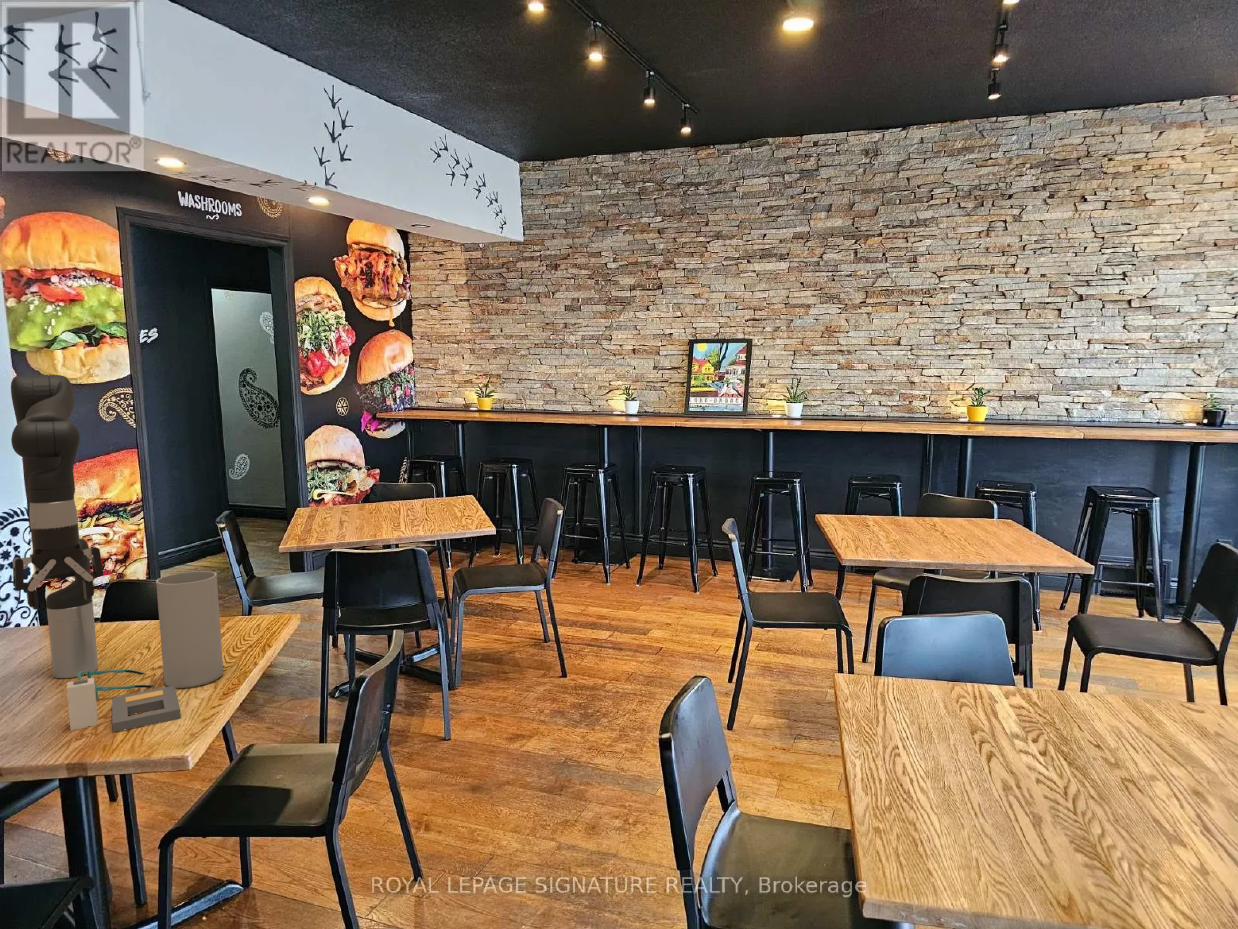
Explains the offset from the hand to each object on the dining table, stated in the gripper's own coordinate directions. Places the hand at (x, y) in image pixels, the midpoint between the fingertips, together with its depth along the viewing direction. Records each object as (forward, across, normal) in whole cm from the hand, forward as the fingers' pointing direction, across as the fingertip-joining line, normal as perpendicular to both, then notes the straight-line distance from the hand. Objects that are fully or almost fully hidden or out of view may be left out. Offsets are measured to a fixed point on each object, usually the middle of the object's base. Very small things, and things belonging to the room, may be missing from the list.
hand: (62, 604), depth 153 cm
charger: (+28, -3, -5) cm, 28 cm away
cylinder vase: (+28, -27, -14) cm, 41 cm away
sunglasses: (+28, -13, -23) cm, 39 cm away
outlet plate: (+27, -13, -2) cm, 31 cm away
